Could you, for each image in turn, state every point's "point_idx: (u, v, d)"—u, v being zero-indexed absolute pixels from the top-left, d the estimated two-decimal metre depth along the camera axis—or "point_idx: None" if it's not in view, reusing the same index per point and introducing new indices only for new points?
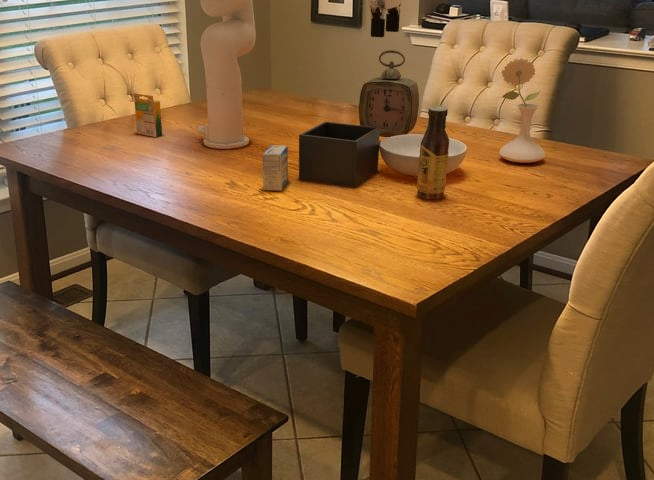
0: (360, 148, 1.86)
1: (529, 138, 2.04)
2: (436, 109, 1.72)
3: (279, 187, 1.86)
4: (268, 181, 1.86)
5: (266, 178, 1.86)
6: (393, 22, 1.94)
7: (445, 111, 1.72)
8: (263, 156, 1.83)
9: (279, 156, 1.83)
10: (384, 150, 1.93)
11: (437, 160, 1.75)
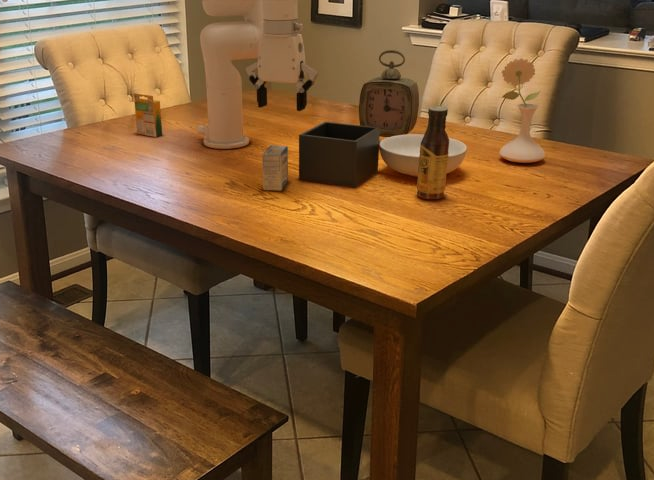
0: (360, 148, 1.86)
1: (529, 138, 2.04)
2: (436, 109, 1.72)
3: (279, 187, 1.86)
4: (268, 181, 1.86)
5: (266, 178, 1.86)
6: None
7: (445, 111, 1.72)
8: (263, 156, 1.83)
9: (279, 156, 1.83)
10: (384, 150, 1.93)
11: (437, 160, 1.75)
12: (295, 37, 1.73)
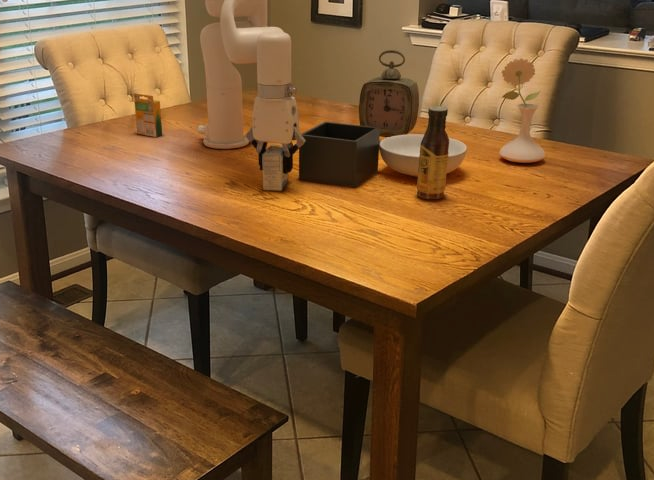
0: (360, 148, 1.86)
1: (529, 138, 2.04)
2: (436, 109, 1.72)
3: (279, 187, 1.86)
4: (268, 181, 1.86)
5: (266, 178, 1.86)
6: None
7: (445, 111, 1.72)
8: (263, 156, 1.83)
9: (279, 156, 1.83)
10: (384, 150, 1.93)
11: (437, 160, 1.75)
12: (288, 101, 1.78)
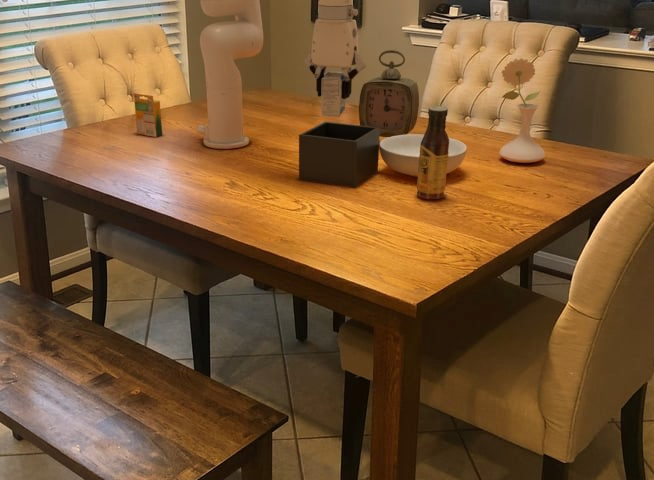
0: (360, 148, 1.86)
1: (529, 138, 2.04)
2: (436, 109, 1.72)
3: (337, 112, 1.85)
4: (326, 107, 1.85)
5: (325, 103, 1.85)
6: None
7: (445, 111, 1.72)
8: (322, 80, 1.83)
9: (339, 80, 1.82)
10: (384, 150, 1.93)
11: (437, 160, 1.75)
12: (350, 23, 1.78)
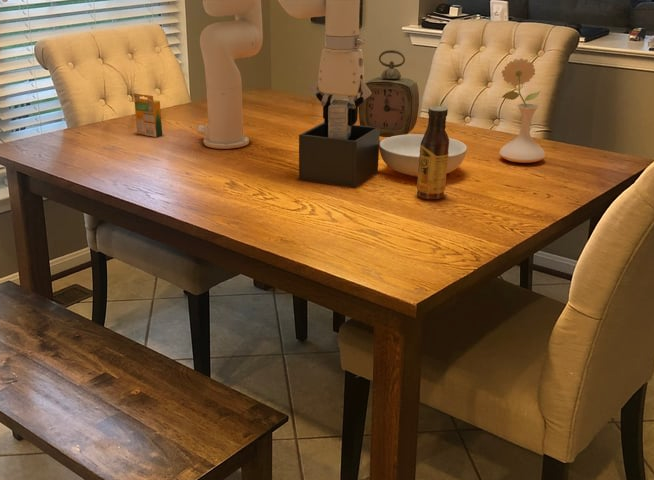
0: (360, 148, 1.86)
1: (529, 138, 2.04)
2: (436, 109, 1.72)
3: None
4: (333, 134, 1.89)
5: (332, 130, 1.89)
6: None
7: (445, 111, 1.72)
8: (329, 108, 1.86)
9: (345, 108, 1.86)
10: (384, 150, 1.93)
11: (437, 160, 1.75)
12: (356, 52, 1.81)
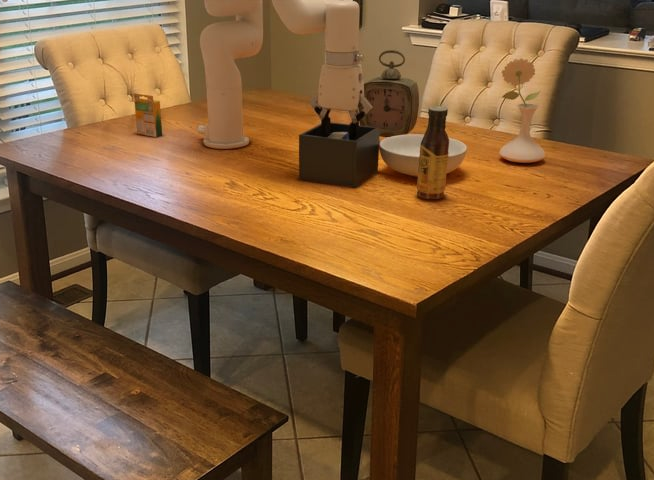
0: (360, 148, 1.86)
1: (529, 138, 2.04)
2: (436, 109, 1.72)
3: None
4: None
5: None
6: None
7: (445, 111, 1.72)
8: None
9: None
10: (384, 150, 1.93)
11: (437, 160, 1.75)
12: (356, 68, 1.83)
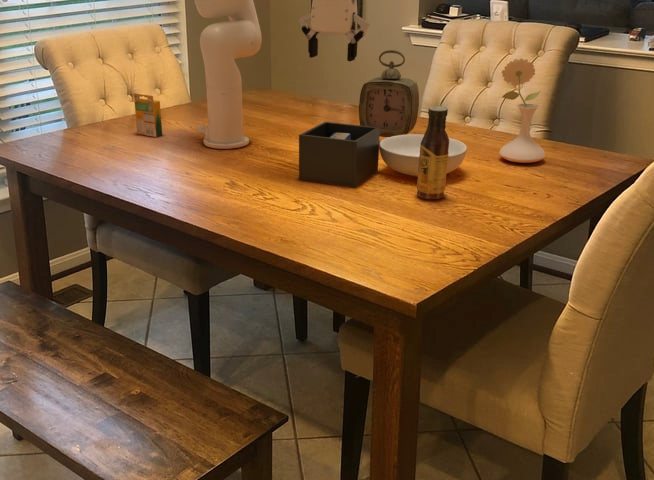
0: (360, 148, 1.86)
1: (529, 138, 2.04)
2: (436, 109, 1.72)
3: None
4: None
5: None
6: None
7: (445, 111, 1.72)
8: None
9: None
10: (384, 150, 1.93)
11: (437, 160, 1.75)
12: None
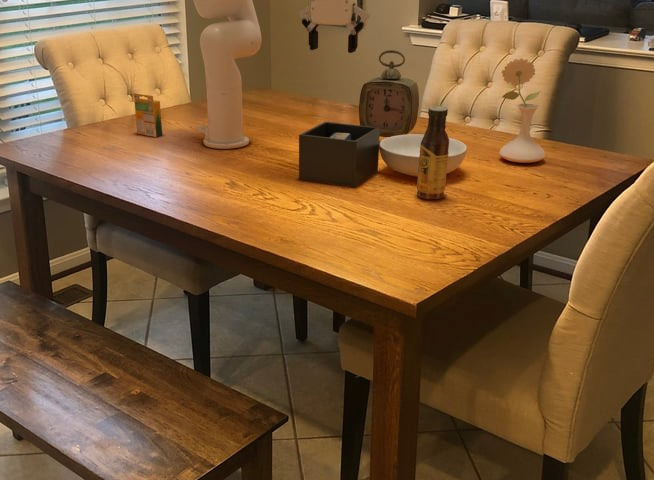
0: (360, 148, 1.86)
1: (529, 138, 2.04)
2: (436, 109, 1.72)
3: None
4: None
5: None
6: None
7: (445, 111, 1.72)
8: None
9: None
10: (384, 150, 1.93)
11: (437, 160, 1.75)
12: None
